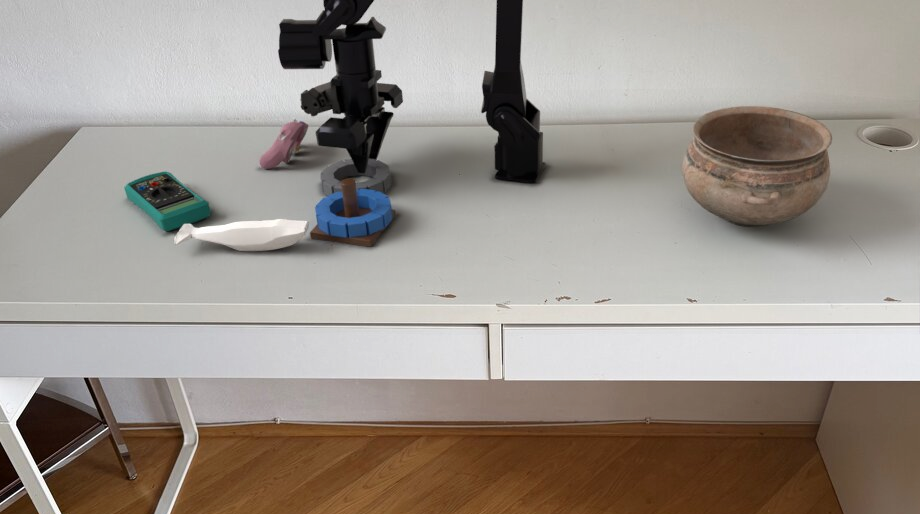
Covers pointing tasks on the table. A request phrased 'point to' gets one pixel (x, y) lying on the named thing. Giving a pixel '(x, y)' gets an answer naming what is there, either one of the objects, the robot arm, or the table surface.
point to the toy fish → (248, 234)
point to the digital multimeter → (167, 200)
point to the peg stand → (349, 211)
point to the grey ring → (347, 168)
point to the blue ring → (355, 224)
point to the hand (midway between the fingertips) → (367, 166)
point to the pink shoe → (284, 144)
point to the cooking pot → (757, 164)
